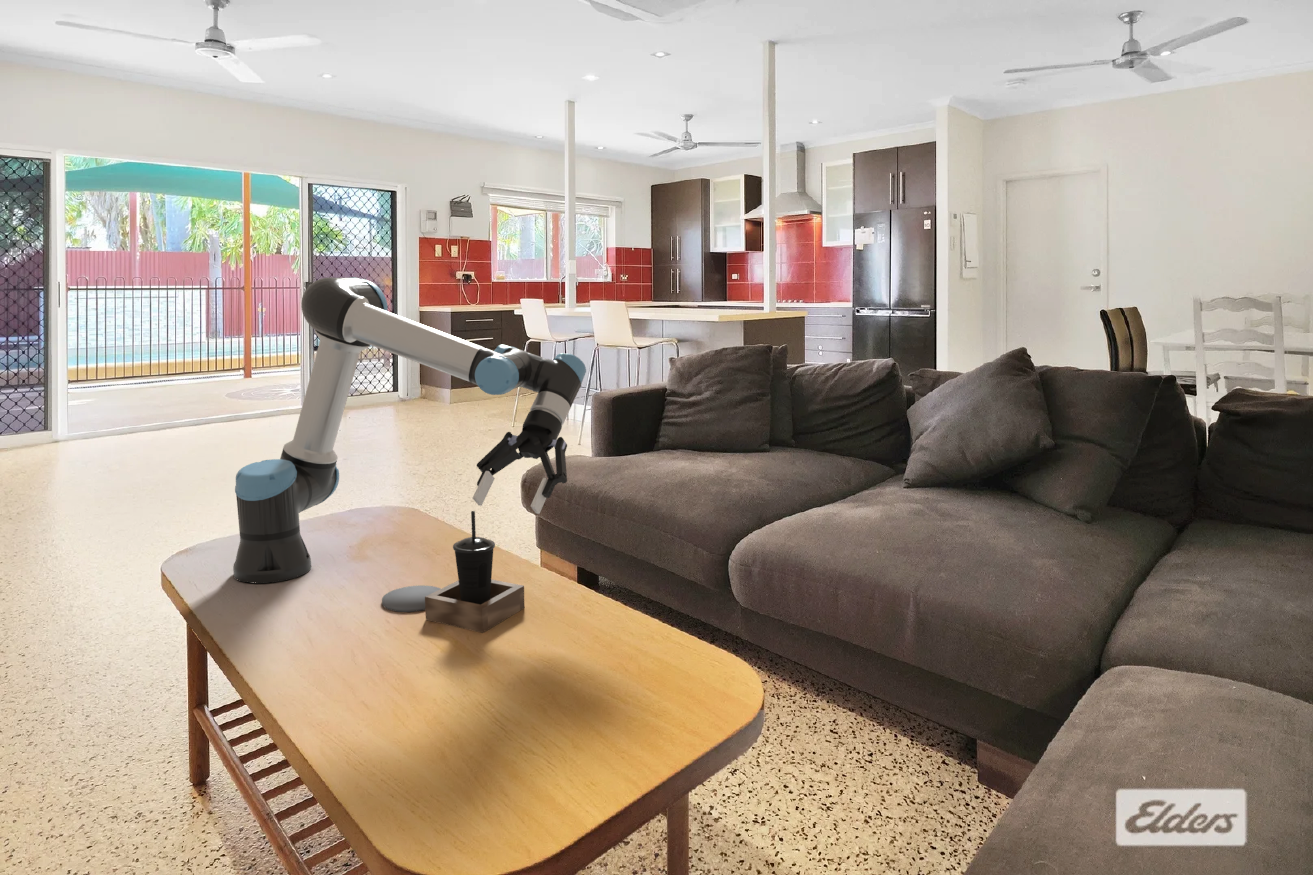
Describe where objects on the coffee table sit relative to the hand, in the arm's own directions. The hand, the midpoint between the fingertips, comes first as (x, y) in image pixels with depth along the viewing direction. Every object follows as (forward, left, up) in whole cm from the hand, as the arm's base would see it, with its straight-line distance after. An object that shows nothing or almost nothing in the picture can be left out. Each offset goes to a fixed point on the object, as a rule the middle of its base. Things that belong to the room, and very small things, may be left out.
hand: (505, 506), depth 161 cm
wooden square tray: (-1, -9, -19) cm, 21 cm away
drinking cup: (-1, -9, -19) cm, 21 cm away
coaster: (-16, -9, -19) cm, 26 cm away
